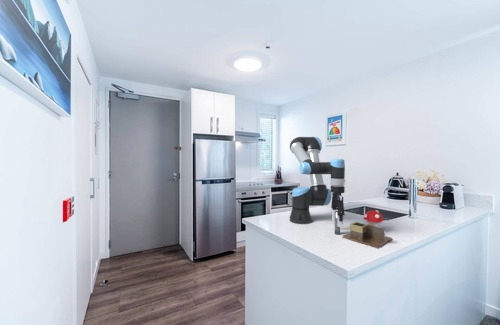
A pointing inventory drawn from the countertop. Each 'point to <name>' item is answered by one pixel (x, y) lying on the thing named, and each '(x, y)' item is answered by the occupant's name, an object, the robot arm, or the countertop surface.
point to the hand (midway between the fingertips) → (337, 223)
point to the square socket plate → (367, 234)
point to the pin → (336, 224)
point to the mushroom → (374, 218)
